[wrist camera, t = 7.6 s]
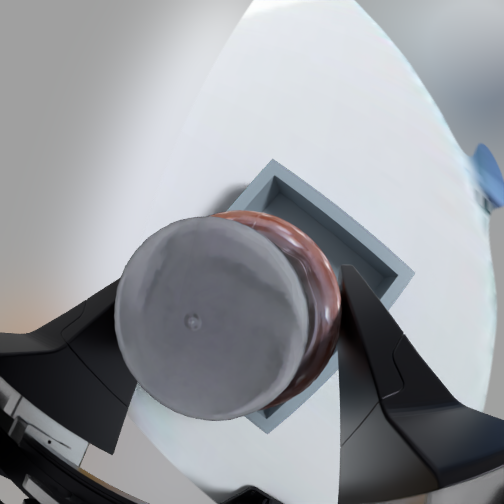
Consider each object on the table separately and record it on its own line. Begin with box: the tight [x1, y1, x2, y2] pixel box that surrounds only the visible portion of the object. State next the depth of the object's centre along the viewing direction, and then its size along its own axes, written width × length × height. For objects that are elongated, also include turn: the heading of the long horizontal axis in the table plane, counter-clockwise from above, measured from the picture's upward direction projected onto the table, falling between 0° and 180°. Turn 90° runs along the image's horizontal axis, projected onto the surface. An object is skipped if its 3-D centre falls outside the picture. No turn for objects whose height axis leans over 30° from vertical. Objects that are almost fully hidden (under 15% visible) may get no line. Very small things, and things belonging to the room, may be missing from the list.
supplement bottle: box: [114, 210, 342, 421], centre depth 10 cm, size 6×6×11 cm
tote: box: [226, 159, 415, 434], centre depth 17 cm, size 13×11×4 cm
